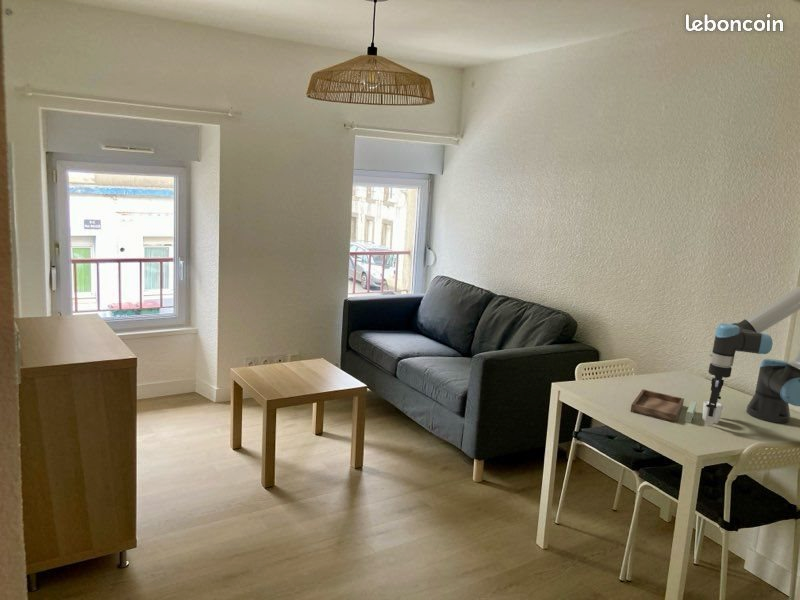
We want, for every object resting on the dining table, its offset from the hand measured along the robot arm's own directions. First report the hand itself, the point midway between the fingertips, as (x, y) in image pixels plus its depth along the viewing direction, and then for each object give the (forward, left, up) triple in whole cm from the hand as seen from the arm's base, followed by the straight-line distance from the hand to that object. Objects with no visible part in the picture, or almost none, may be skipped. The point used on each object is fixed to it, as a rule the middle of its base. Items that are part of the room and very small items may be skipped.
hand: (710, 419), depth 245 cm
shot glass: (0, 0, -1) cm, 1 cm away
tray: (+19, +1, 0) cm, 19 cm away
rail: (+7, +1, 0) cm, 7 cm away
